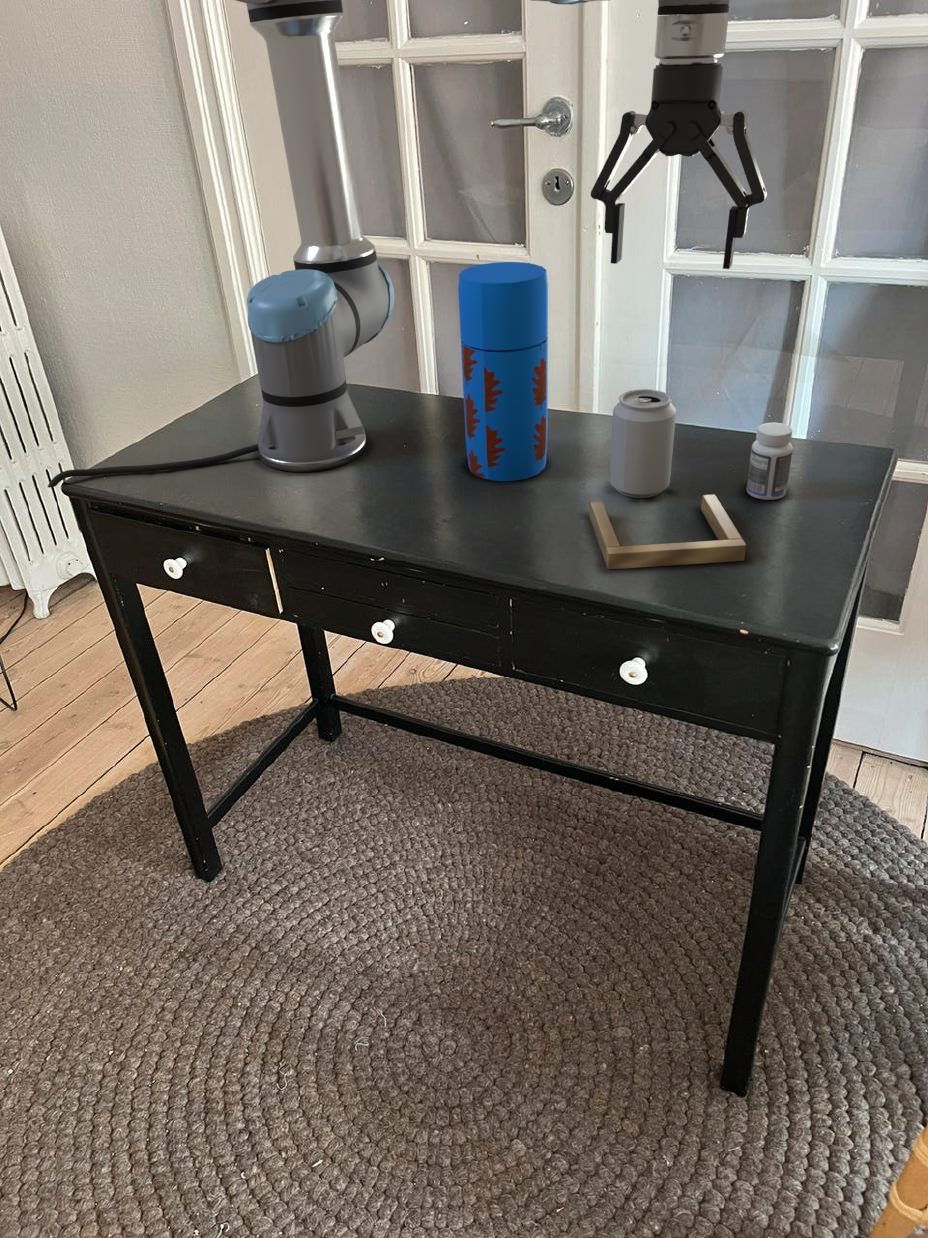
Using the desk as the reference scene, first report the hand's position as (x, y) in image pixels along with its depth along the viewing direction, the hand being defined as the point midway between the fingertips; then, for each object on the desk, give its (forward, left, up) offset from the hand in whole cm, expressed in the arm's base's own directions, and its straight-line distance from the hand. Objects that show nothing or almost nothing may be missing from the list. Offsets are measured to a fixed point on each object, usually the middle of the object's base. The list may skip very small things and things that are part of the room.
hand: (670, 264), depth 113 cm
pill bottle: (+10, -15, -25) cm, 31 cm away
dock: (-5, -24, -24) cm, 35 cm away
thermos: (-21, -2, -25) cm, 32 cm away
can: (-5, -12, -25) cm, 28 cm away
